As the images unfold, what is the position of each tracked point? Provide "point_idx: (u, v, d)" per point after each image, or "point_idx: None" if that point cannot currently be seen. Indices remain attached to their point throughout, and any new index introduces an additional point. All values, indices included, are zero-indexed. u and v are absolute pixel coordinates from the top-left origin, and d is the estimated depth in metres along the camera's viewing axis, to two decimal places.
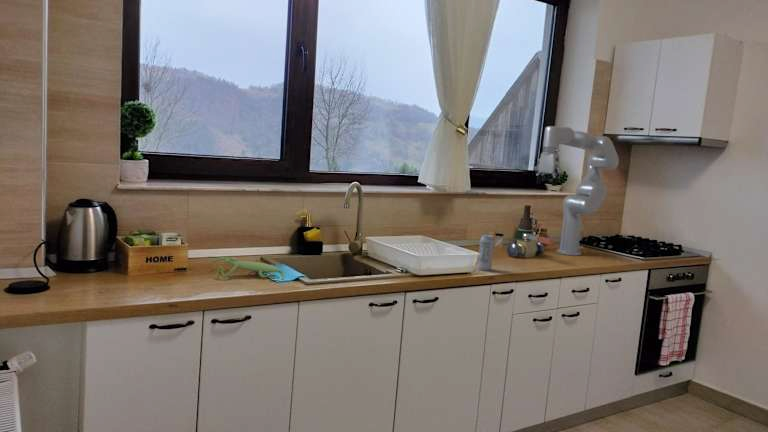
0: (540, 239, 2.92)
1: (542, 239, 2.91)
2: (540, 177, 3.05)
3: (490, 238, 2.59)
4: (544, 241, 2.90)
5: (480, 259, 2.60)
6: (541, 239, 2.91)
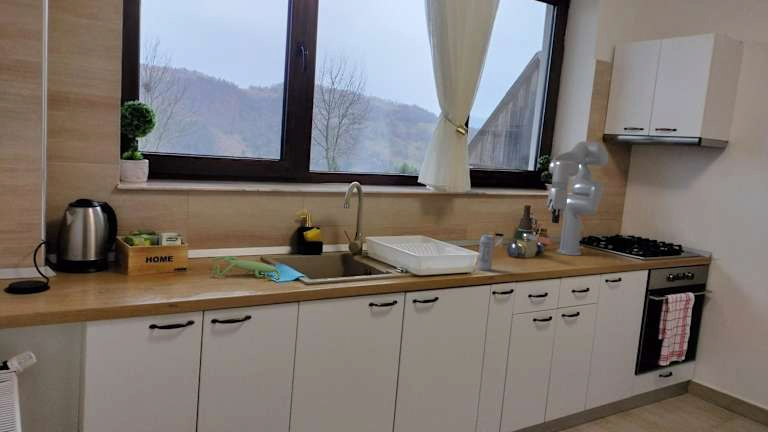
0: (540, 239, 2.92)
1: (542, 239, 2.91)
2: None
3: (490, 238, 2.59)
4: (544, 241, 2.90)
5: (480, 259, 2.60)
6: (541, 239, 2.91)
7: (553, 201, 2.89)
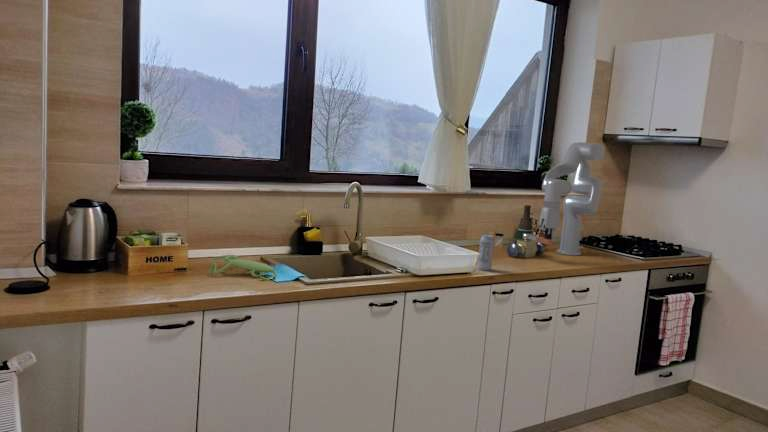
0: (539, 239, 2.92)
1: (541, 239, 2.91)
2: None
3: (490, 238, 2.59)
4: (543, 241, 2.90)
5: (480, 259, 2.60)
6: (540, 239, 2.91)
7: (545, 221, 2.88)
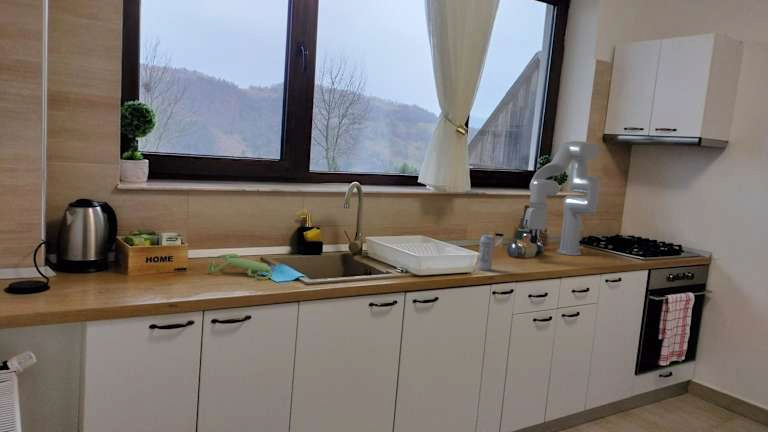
0: None
1: None
2: None
3: (490, 238, 2.59)
4: None
5: (480, 259, 2.60)
6: None
7: (528, 221, 2.86)
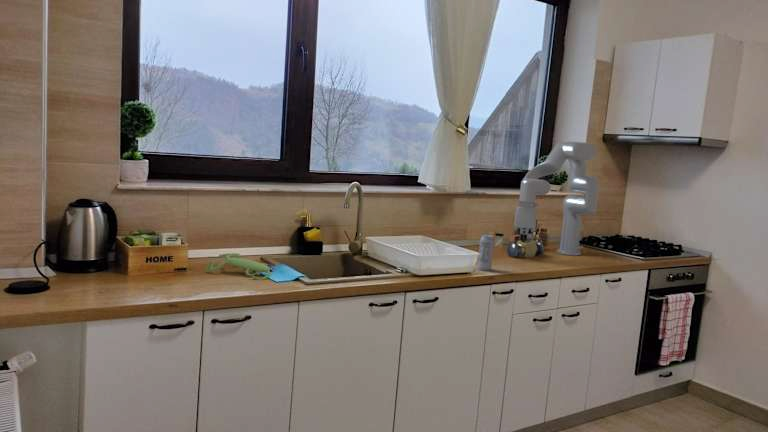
0: None
1: None
2: None
3: (490, 238, 2.59)
4: None
5: (480, 259, 2.60)
6: None
7: None
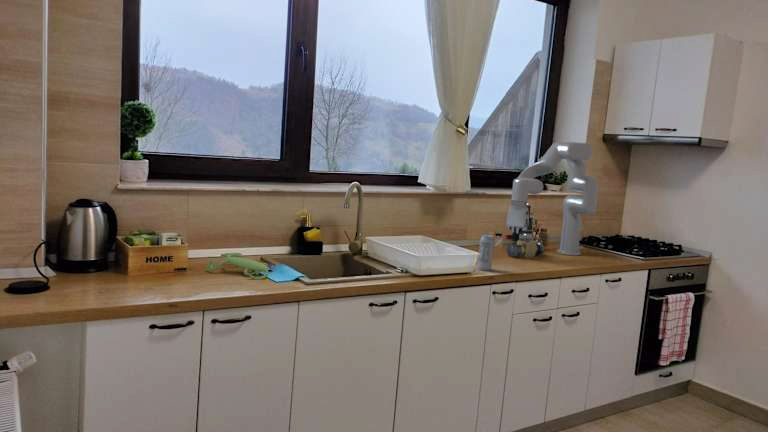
0: None
1: None
2: None
3: (490, 238, 2.59)
4: None
5: (480, 259, 2.60)
6: None
7: None
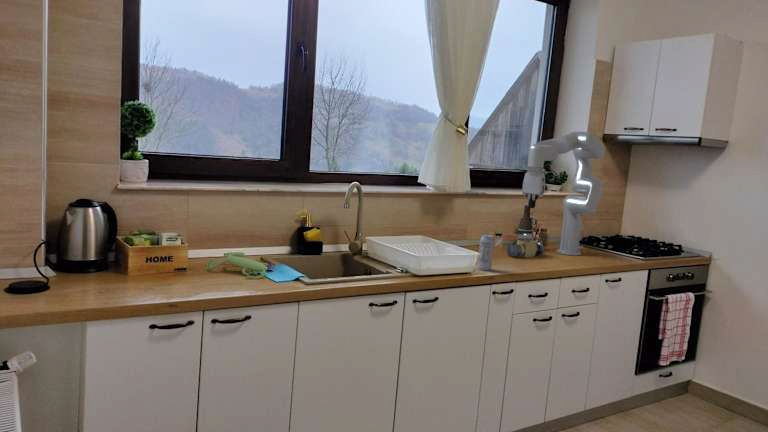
0: None
1: None
2: None
3: (490, 238, 2.59)
4: None
5: (480, 259, 2.60)
6: None
7: None
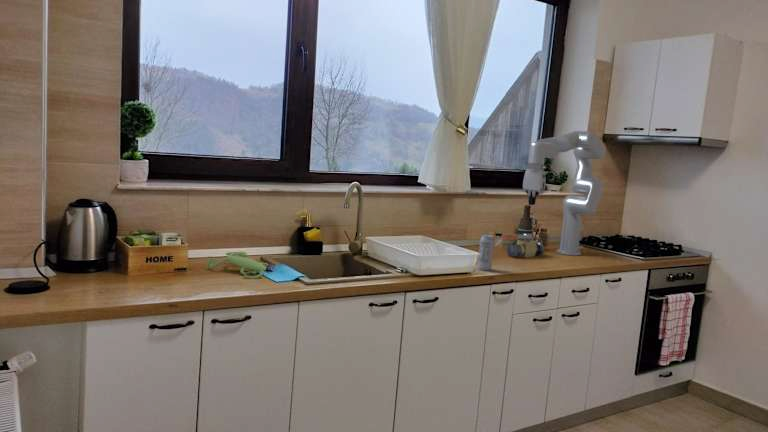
0: None
1: None
2: None
3: (490, 238, 2.59)
4: None
5: (480, 259, 2.60)
6: None
7: None
